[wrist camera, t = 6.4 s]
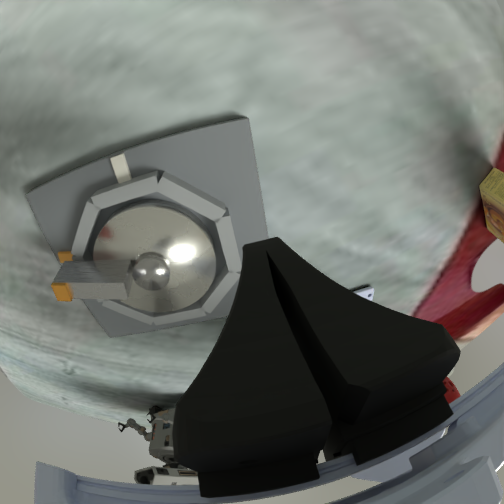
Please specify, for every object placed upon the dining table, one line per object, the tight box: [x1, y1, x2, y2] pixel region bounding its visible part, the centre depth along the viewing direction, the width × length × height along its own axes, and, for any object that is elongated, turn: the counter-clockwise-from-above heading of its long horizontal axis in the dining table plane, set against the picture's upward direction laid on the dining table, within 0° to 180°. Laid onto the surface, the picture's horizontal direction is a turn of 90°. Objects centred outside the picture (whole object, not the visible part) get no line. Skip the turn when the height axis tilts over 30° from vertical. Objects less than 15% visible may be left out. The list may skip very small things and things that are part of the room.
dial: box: [51, 200, 216, 312], centre depth 18 cm, size 12×9×4 cm
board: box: [26, 117, 269, 338], centre depth 19 cm, size 16×17×2 cm
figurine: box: [118, 406, 199, 485], centre depth 28 cm, size 9×12×15 cm
